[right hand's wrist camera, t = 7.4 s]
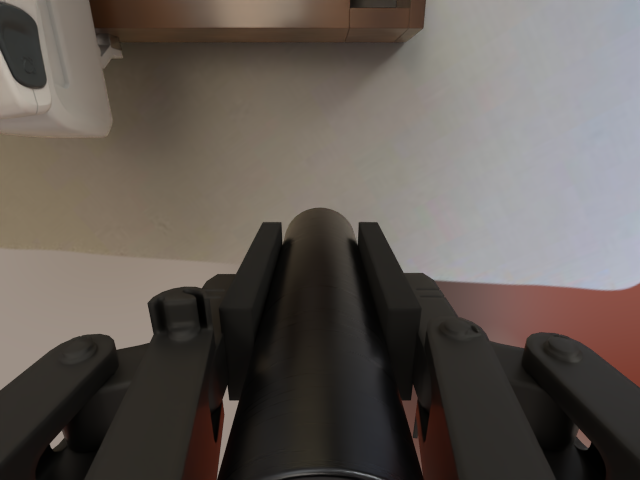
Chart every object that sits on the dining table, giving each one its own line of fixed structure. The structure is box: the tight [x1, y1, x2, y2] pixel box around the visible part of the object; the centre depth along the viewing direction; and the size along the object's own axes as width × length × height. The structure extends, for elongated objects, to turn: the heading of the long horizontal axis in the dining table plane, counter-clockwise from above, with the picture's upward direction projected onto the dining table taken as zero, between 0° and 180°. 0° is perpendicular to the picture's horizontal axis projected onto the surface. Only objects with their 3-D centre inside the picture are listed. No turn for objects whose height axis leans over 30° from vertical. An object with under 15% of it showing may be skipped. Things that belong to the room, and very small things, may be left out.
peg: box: [217, 208, 424, 480], centre depth 10 cm, size 3×3×12 cm
